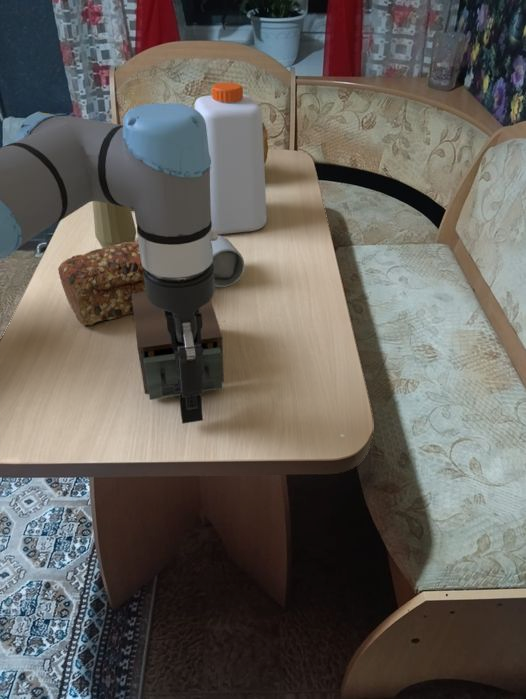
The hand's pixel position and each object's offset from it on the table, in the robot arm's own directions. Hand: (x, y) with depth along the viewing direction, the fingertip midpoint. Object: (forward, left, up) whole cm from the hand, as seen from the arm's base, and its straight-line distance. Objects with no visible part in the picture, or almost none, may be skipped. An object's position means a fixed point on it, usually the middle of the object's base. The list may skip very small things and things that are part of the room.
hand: (191, 417), depth 72 cm
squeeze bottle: (+2, +53, -2) cm, 53 cm away
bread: (-1, +34, -2) cm, 34 cm away
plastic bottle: (+28, +57, -2) cm, 63 cm away
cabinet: (+3, +15, -2) cm, 15 cm away
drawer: (+2, +10, -1) cm, 10 cm away
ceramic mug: (+16, +35, -2) cm, 38 cm away
